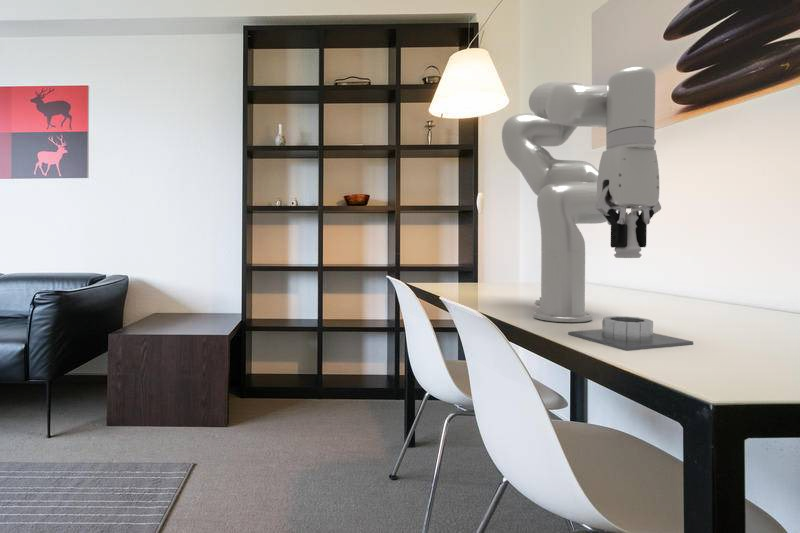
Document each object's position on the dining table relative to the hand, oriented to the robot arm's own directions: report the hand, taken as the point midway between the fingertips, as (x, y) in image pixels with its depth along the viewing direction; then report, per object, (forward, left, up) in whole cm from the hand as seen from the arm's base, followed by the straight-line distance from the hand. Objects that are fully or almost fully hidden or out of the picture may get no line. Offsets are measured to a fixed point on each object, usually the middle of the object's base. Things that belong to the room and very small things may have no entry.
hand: (628, 246), depth 77 cm
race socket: (0, 0, -17) cm, 17 cm away
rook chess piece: (0, 0, -2) cm, 2 cm away
